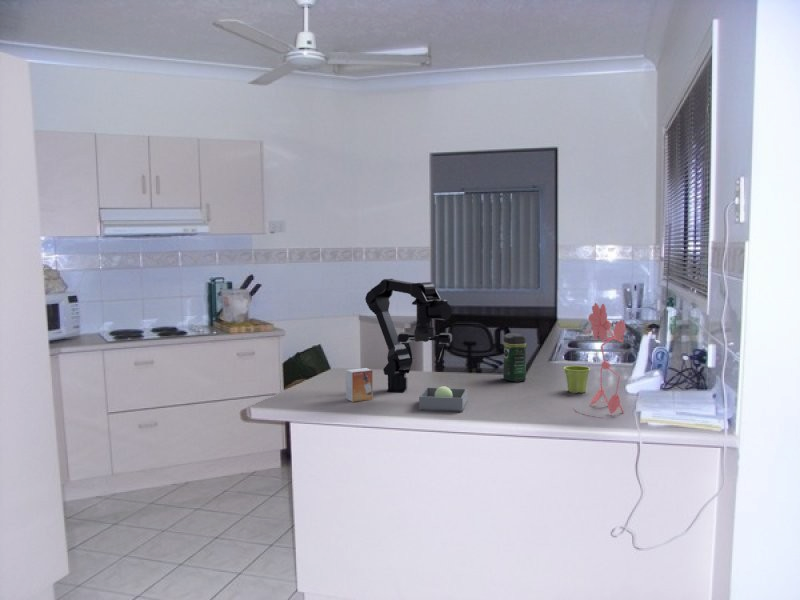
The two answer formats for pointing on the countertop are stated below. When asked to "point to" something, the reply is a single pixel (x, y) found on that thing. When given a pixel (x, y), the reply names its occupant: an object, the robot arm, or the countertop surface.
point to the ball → (443, 392)
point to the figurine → (599, 328)
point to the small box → (359, 384)
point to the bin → (443, 400)
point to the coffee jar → (514, 357)
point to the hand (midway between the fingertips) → (425, 361)
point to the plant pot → (577, 378)
